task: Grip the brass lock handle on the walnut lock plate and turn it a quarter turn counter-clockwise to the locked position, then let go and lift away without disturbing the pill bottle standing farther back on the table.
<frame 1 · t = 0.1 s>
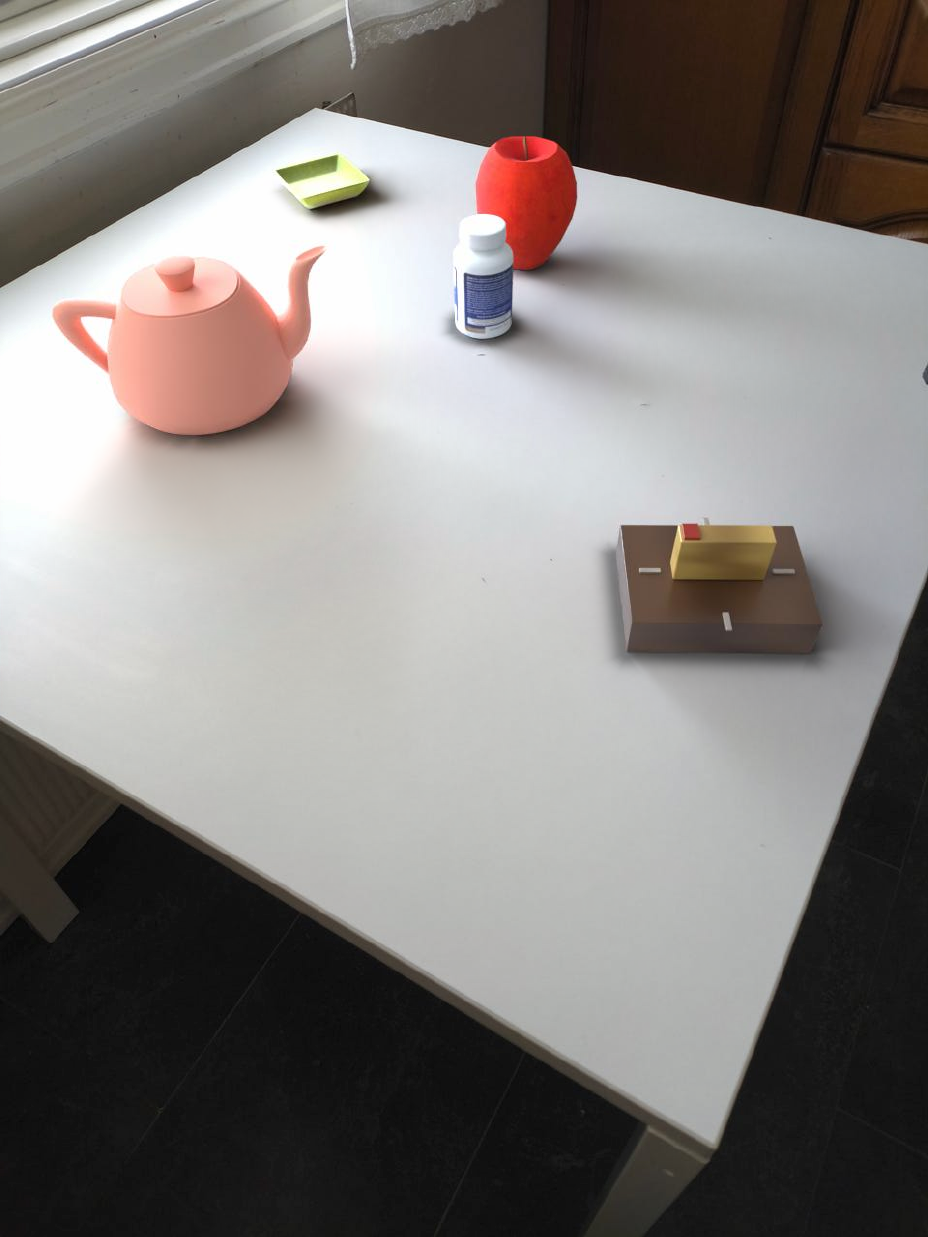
teapot: (220, 395, 79), on the table
pill bottle: (483, 326, 86), on the table
green square tray: (323, 194, 104), on the table
lock handle: (722, 551, 58), point 5 cm above the table, hinge at 0.0°
apple: (524, 262, 93), on the table
lock plate: (708, 601, 62), on the table
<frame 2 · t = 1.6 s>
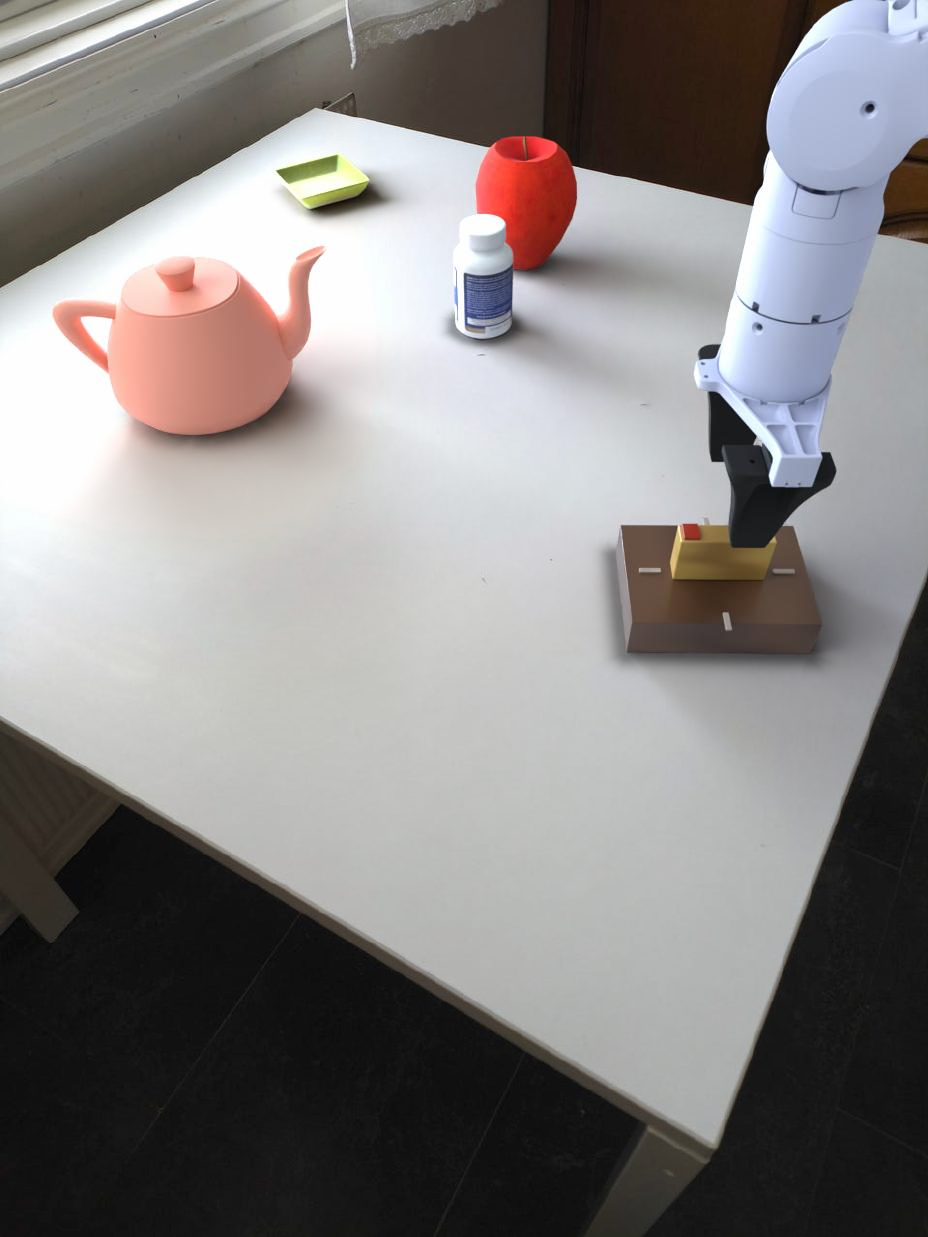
hand: (736, 499, 55), 9 cm above the table, tool pointing down, fingers open, 7 cm apart
nothing on the table moved.
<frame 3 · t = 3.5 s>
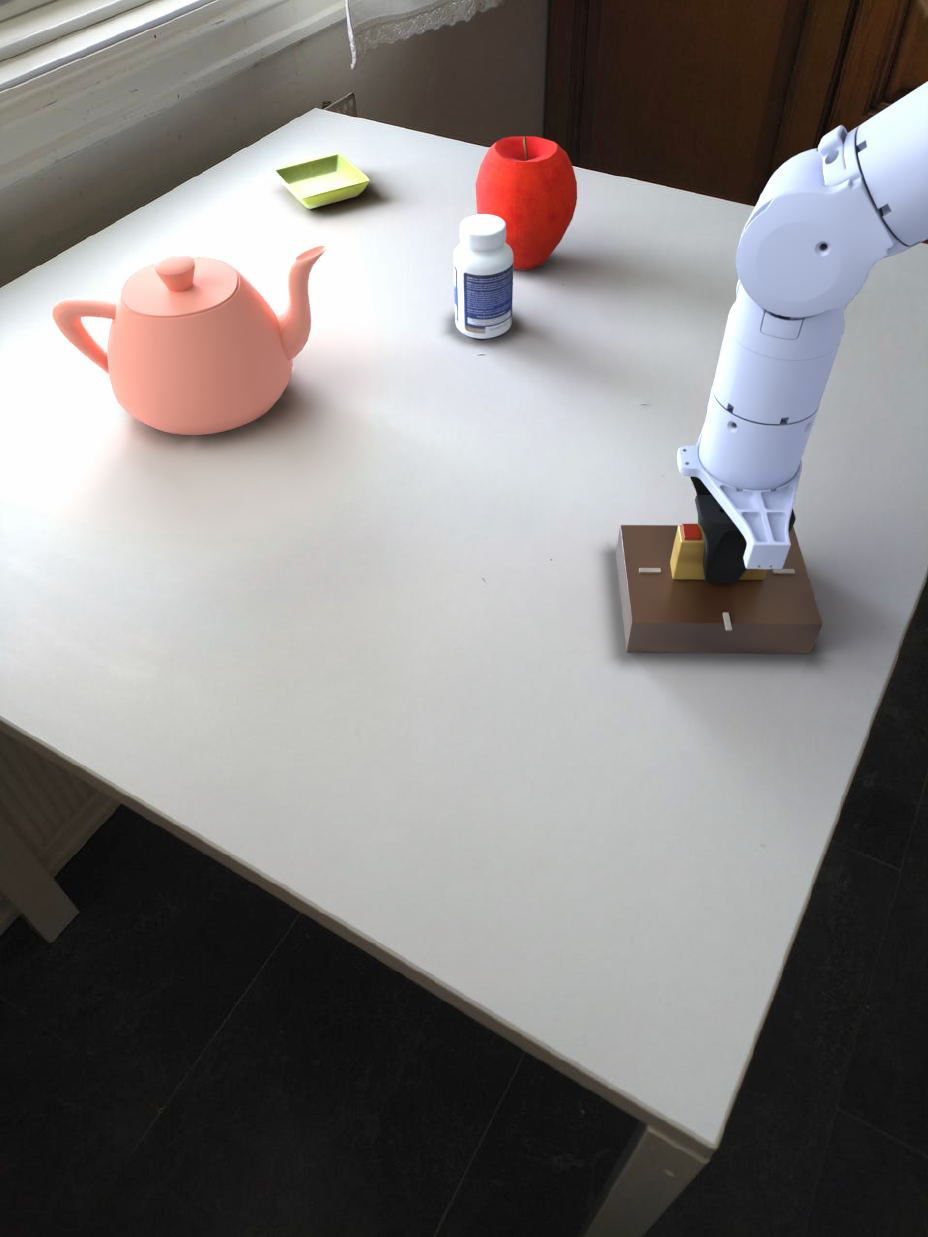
hand: (717, 566, 59), 4 cm above the table, tool pointing down, fingers closed on lock handle, 2 cm apart
lock handle: (722, 551, 58), point 5 cm above the table, hinge at 0.1°, touching gripper
everything else where it was.
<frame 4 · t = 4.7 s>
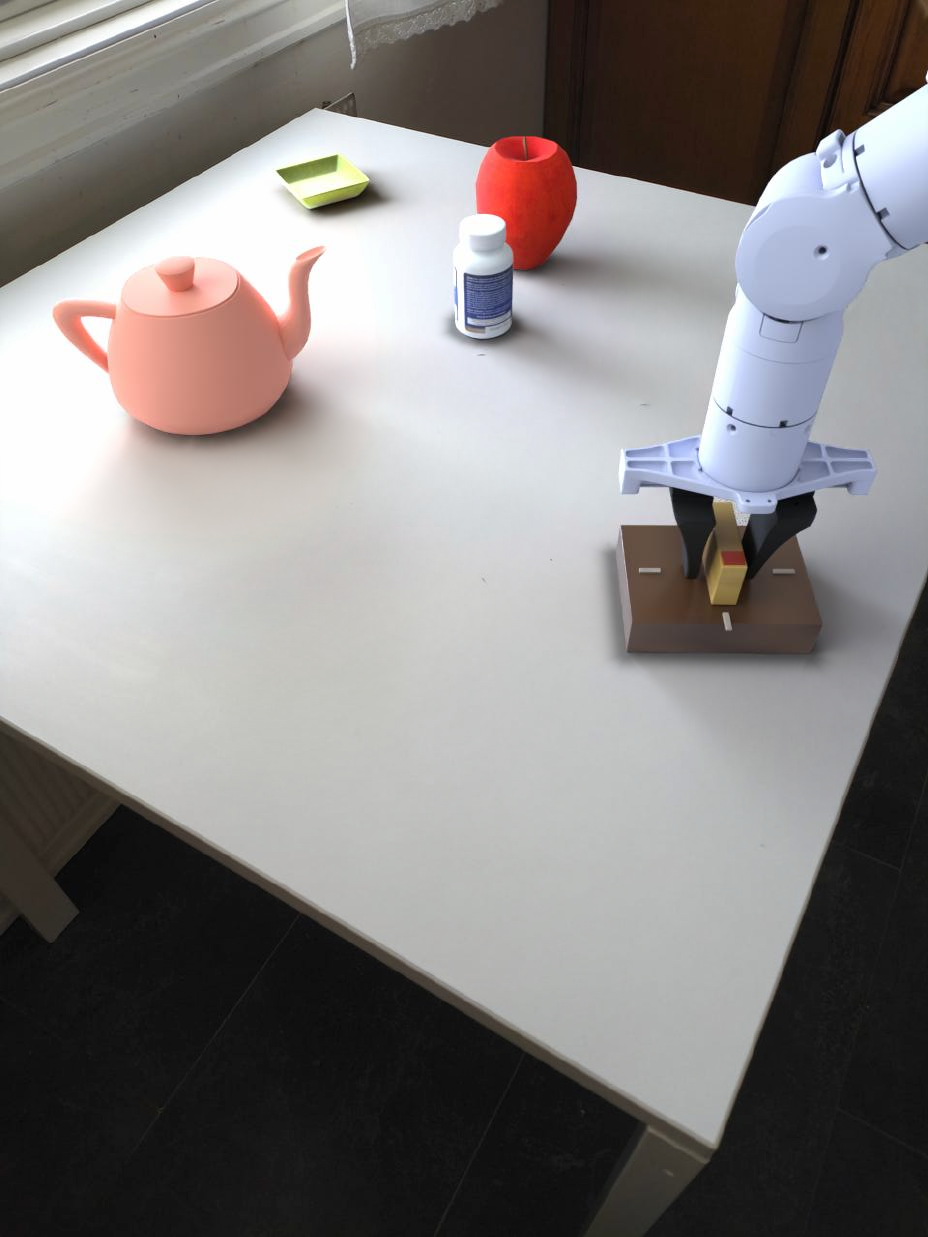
hand: (717, 568, 60), 3 cm above the table, tool pointing down, fingers open, 3 cm apart
lock handle: (722, 551, 58), point 5 cm above the table, hinge at 90.0°
everything else where it was.
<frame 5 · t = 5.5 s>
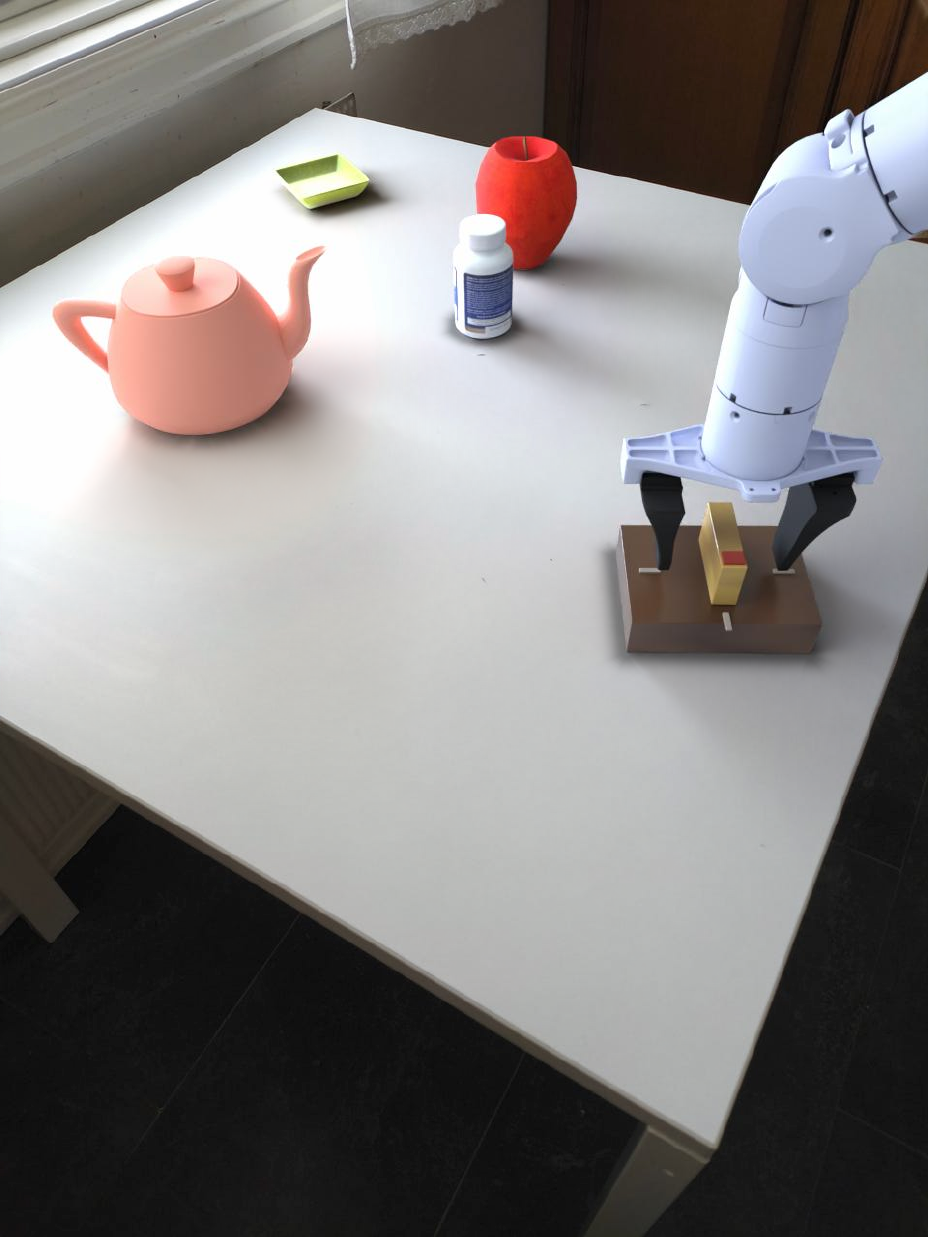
hand: (720, 559, 59), 4 cm above the table, tool pointing down, fingers open, 7 cm apart
nothing on the table moved.
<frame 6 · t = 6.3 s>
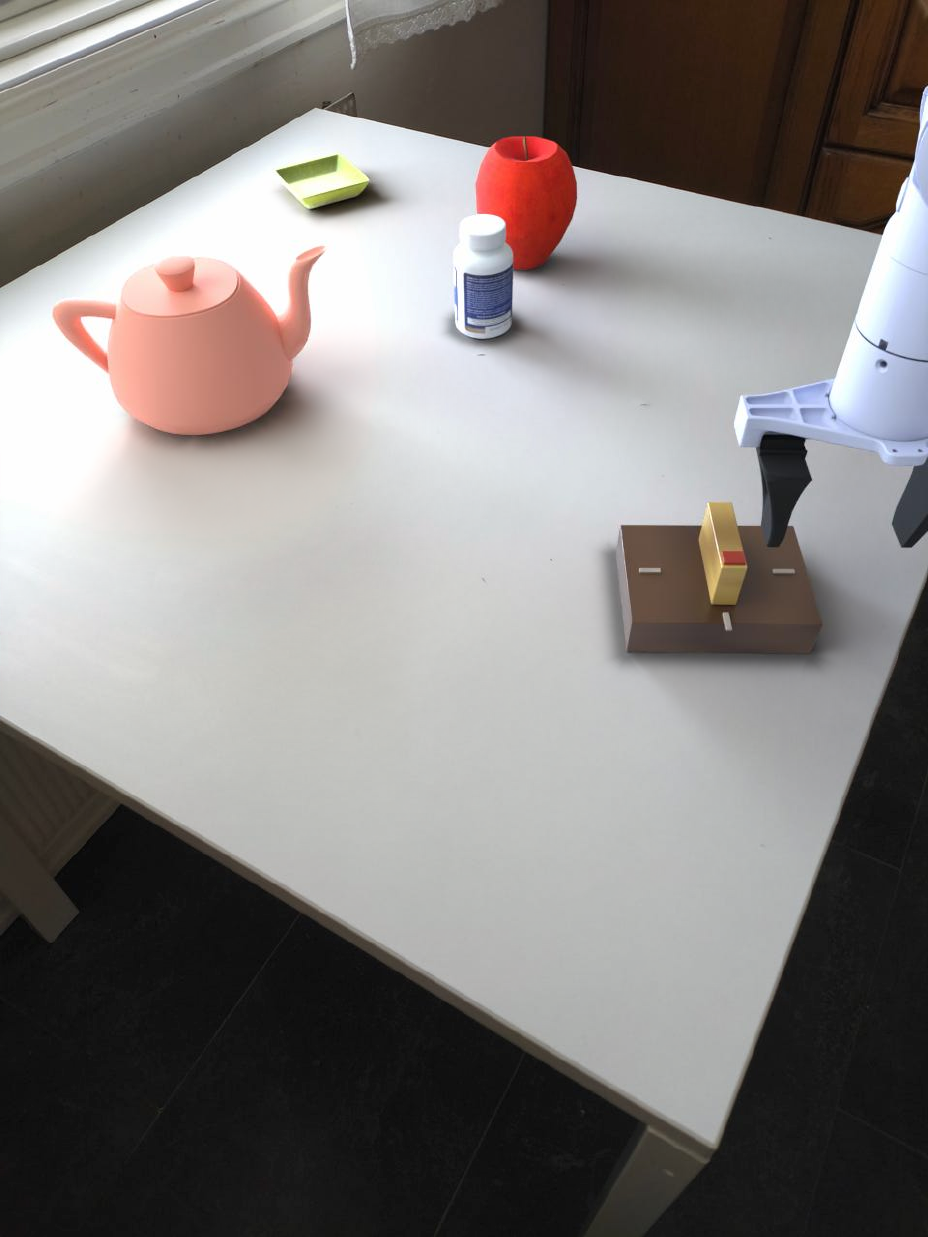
hand: (835, 535, 53), 9 cm above the table, tool pointing down, fingers open, 7 cm apart
nothing on the table moved.
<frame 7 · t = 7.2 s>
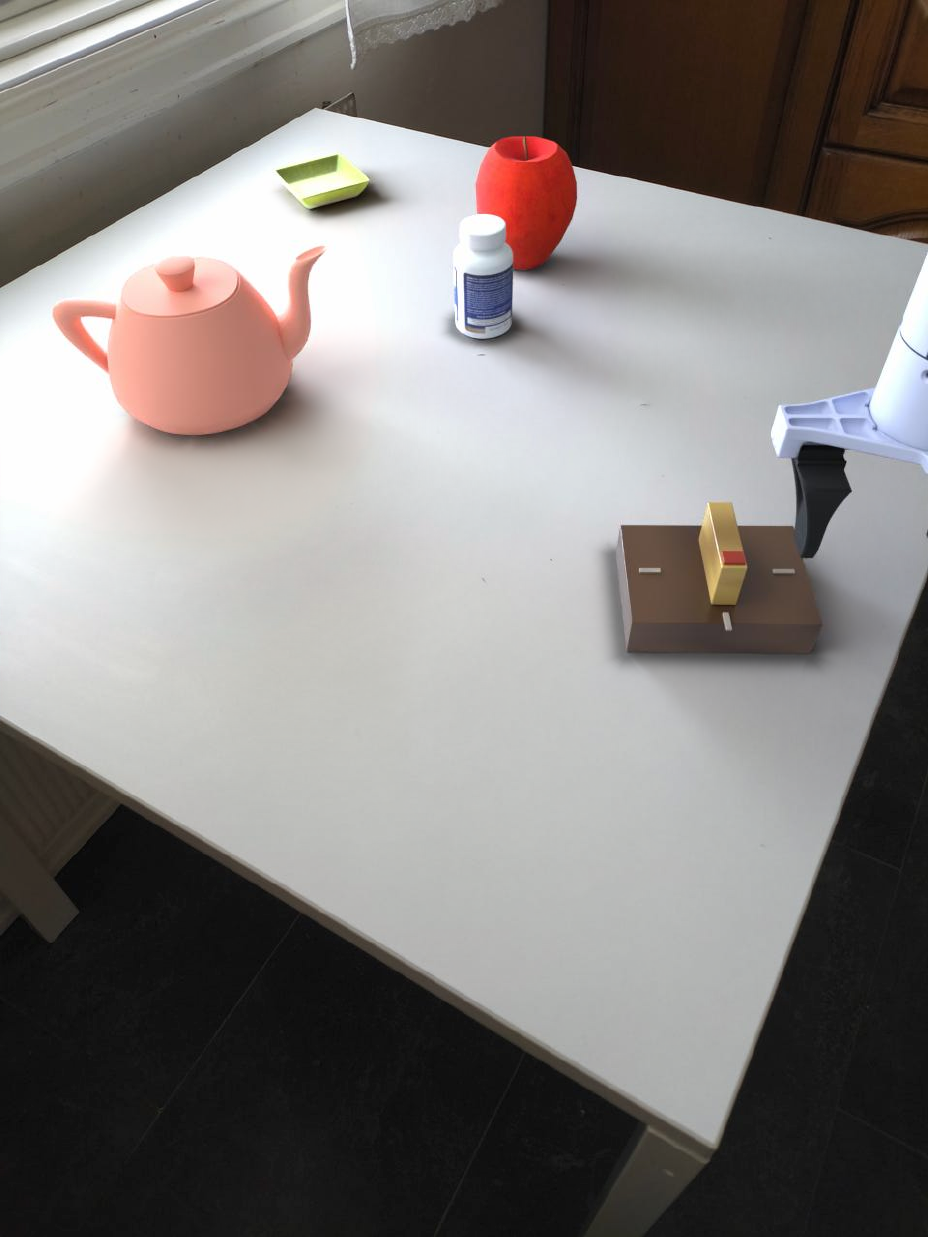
hand: (869, 546, 52), 9 cm above the table, tool pointing down, fingers open, 7 cm apart
nothing on the table moved.
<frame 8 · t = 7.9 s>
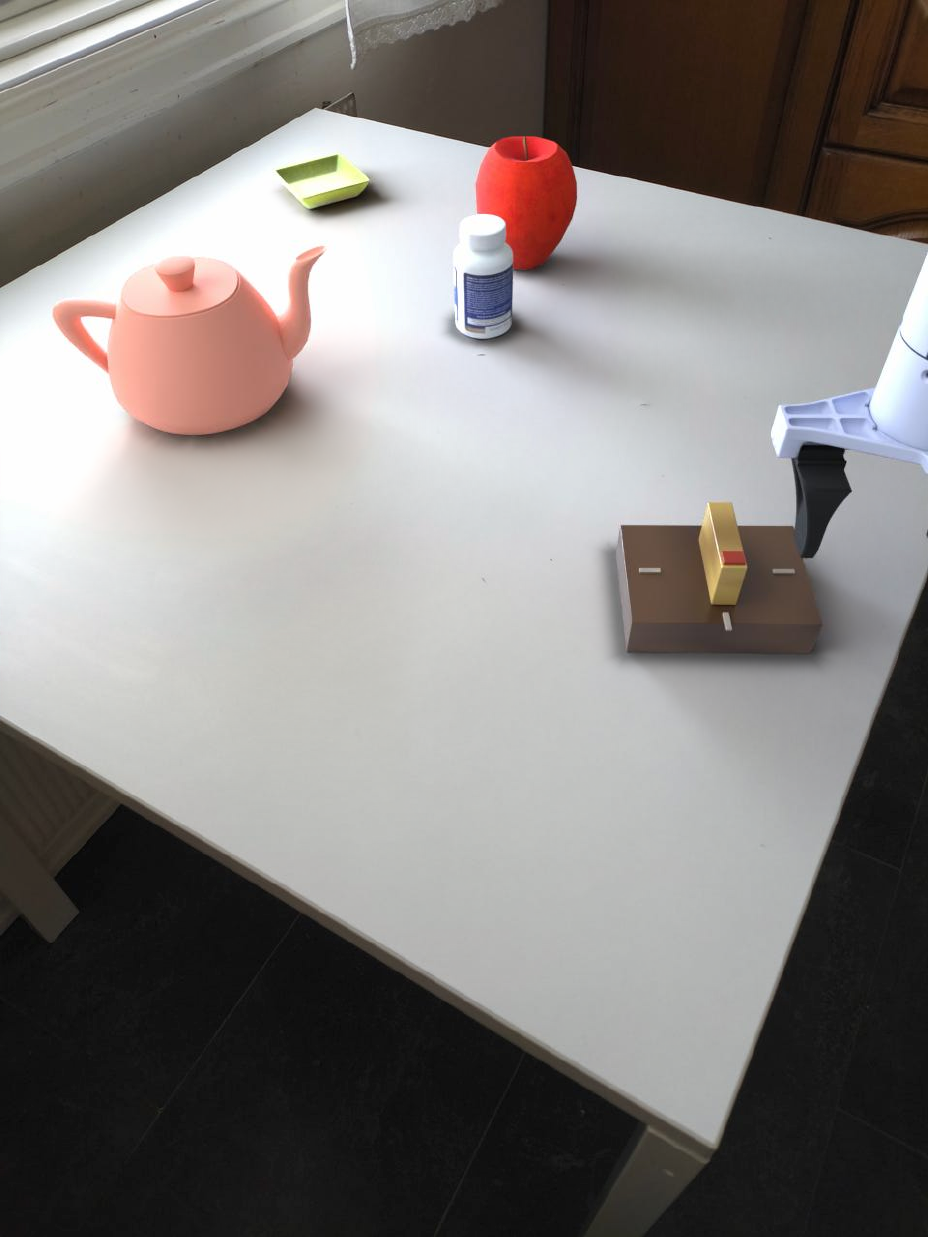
hand: (869, 546, 52), 9 cm above the table, tool pointing down, fingers open, 7 cm apart
nothing on the table moved.
at the end: lock handle at +90° (first picture: +0°); the gripper is holding nothing; pill bottle moved 0.2 cm from its start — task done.
